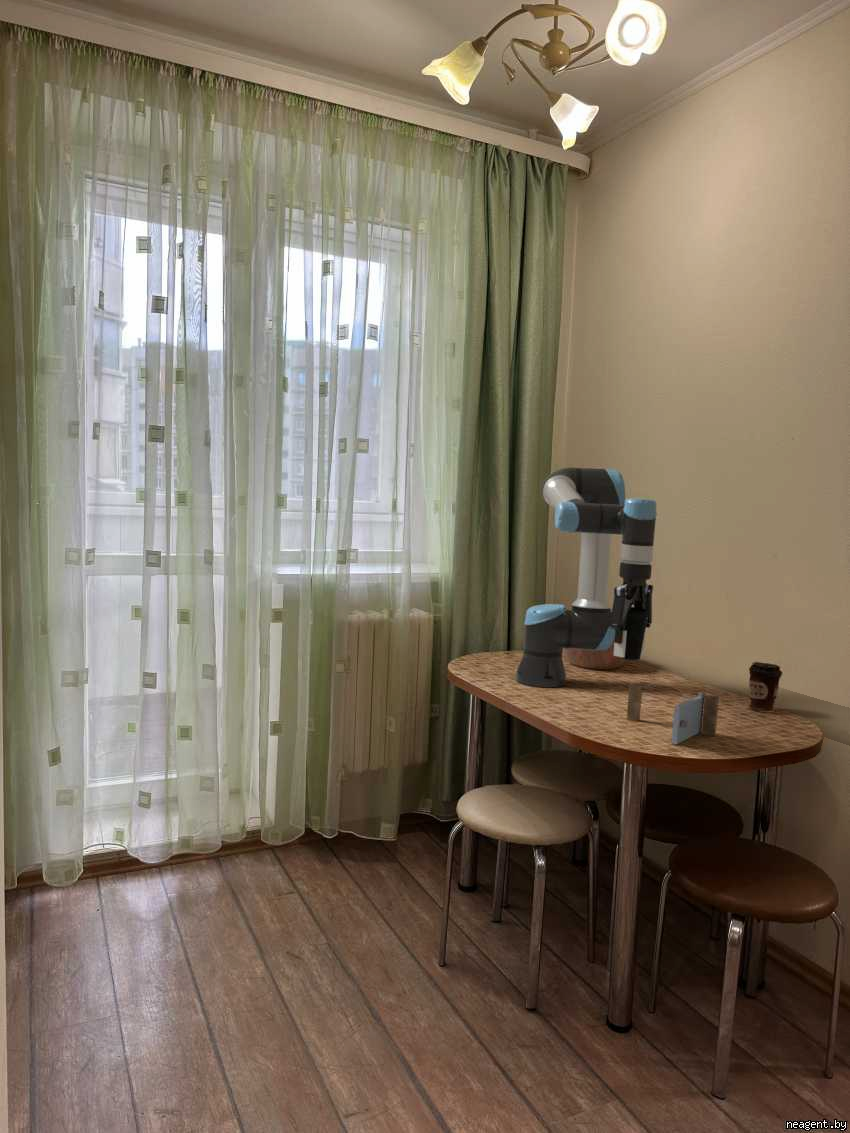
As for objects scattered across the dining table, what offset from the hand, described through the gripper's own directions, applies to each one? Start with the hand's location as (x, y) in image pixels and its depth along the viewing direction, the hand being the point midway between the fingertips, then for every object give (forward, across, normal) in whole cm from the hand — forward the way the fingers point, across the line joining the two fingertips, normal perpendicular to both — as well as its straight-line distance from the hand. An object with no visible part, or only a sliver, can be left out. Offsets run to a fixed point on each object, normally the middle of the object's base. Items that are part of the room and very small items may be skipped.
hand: (628, 654), depth 211 cm
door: (+19, -8, +14) cm, 25 cm away
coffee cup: (+19, -51, +12) cm, 56 cm away
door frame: (+19, -13, +6) cm, 24 cm away
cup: (+1, 0, 0) cm, 1 cm away
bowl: (+20, -58, -49) cm, 78 cm away
